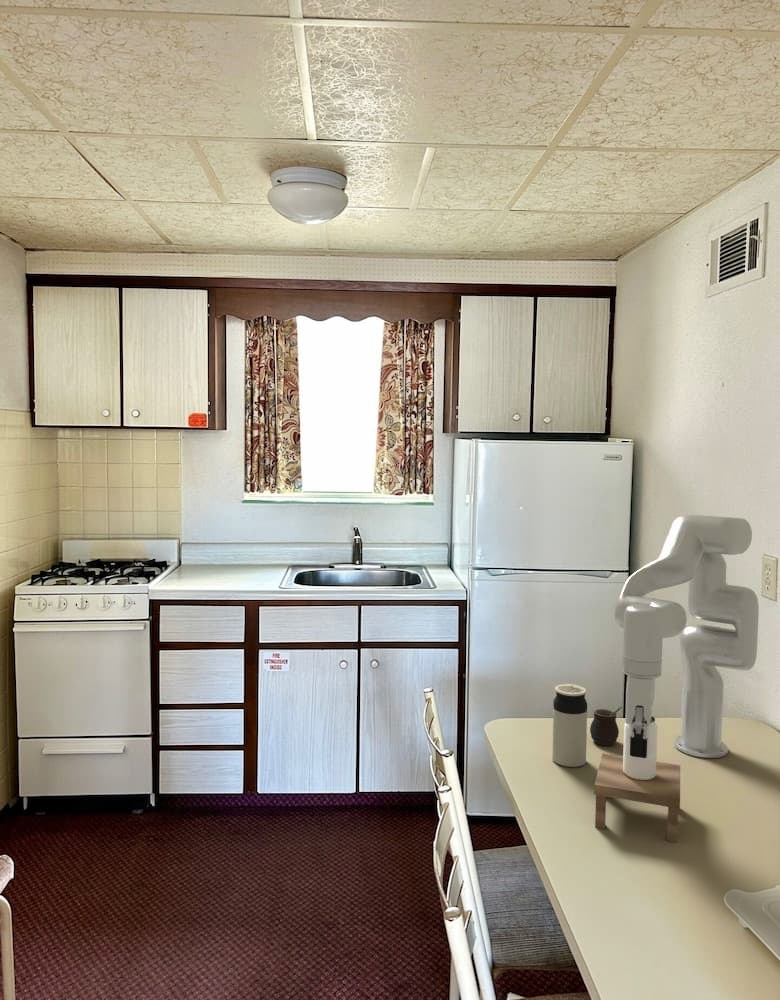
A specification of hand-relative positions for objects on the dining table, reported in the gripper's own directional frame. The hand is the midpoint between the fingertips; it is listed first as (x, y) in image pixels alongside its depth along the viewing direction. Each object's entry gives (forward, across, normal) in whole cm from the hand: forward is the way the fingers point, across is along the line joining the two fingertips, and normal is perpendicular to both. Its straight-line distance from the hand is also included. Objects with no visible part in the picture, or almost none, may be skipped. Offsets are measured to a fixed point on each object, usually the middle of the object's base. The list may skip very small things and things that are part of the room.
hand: (639, 747), depth 152 cm
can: (+6, 0, 0) cm, 6 cm away
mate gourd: (+15, -37, -10) cm, 41 cm away
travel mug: (+15, -22, -17) cm, 32 cm away
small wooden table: (+15, 0, 0) cm, 15 cm away
